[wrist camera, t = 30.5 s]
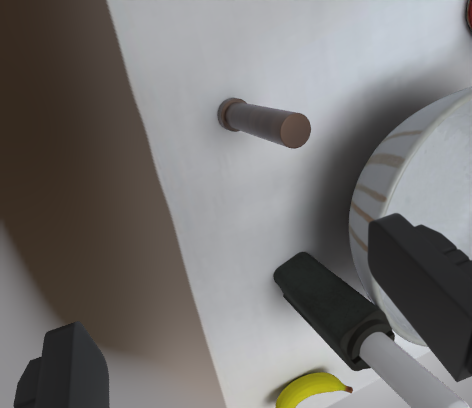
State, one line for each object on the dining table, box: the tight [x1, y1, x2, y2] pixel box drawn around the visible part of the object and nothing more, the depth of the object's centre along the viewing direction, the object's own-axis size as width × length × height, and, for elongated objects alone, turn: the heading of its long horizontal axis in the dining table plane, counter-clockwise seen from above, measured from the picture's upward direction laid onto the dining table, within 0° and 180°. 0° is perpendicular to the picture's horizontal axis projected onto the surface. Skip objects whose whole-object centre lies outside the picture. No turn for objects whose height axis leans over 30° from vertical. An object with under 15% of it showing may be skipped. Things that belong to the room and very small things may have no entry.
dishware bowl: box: [349, 87, 472, 347], centre depth 42 cm, size 27×27×12 cm
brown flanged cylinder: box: [218, 98, 311, 148], centre depth 32 cm, size 3×3×12 cm
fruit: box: [276, 372, 353, 408], centre depth 49 cm, size 10×2×5 cm, turn 103°
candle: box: [274, 252, 470, 408], centre depth 35 cm, size 5×5×25 cm
